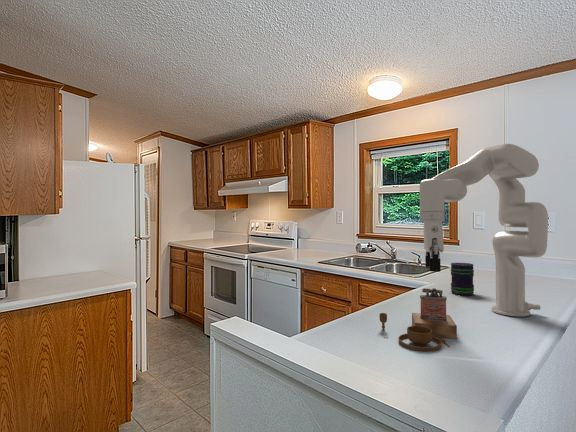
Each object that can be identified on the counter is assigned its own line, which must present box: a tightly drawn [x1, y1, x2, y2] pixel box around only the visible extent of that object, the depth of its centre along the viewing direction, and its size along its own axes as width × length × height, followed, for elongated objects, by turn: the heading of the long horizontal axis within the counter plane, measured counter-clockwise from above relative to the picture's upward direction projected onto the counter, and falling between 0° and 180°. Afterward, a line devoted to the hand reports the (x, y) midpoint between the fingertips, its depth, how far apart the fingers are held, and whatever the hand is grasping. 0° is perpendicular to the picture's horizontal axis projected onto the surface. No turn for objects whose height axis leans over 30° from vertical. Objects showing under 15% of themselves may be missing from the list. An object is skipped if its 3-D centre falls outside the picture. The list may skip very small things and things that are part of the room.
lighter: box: [419, 287, 447, 321], centre depth 113 cm, size 8×3×10 cm, turn 71°
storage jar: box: [450, 262, 475, 297], centre depth 165 cm, size 10×10×15 cm
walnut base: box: [411, 312, 458, 340], centre depth 113 cm, size 12×12×4 cm
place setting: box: [379, 312, 451, 352], centre depth 106 cm, size 18×20×6 cm
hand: (432, 269), depth 113 cm, fingers open, 9 cm apart
